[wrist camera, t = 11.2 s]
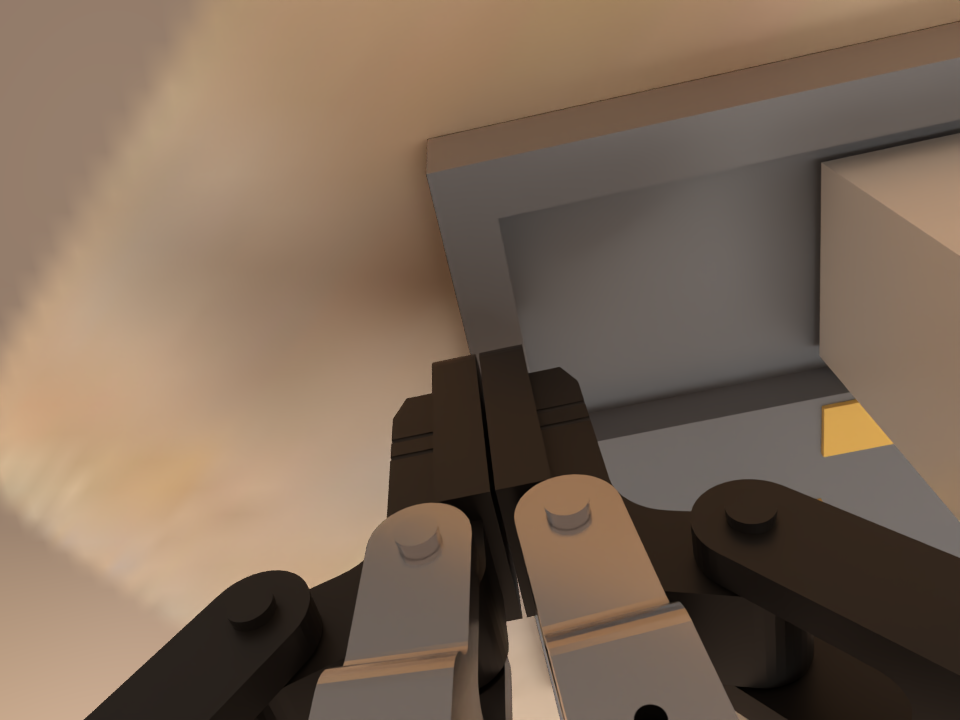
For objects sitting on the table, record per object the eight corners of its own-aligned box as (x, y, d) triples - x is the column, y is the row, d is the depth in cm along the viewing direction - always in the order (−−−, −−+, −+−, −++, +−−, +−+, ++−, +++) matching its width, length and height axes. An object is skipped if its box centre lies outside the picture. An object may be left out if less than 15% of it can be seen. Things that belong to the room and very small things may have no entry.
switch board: (1141, -19, 14) (1257, -6, 12) (1020, 605, 22) (1079, 675, 20) (427, 139, 15) (426, 176, 13) (558, 687, 23) (570, 762, 21)
